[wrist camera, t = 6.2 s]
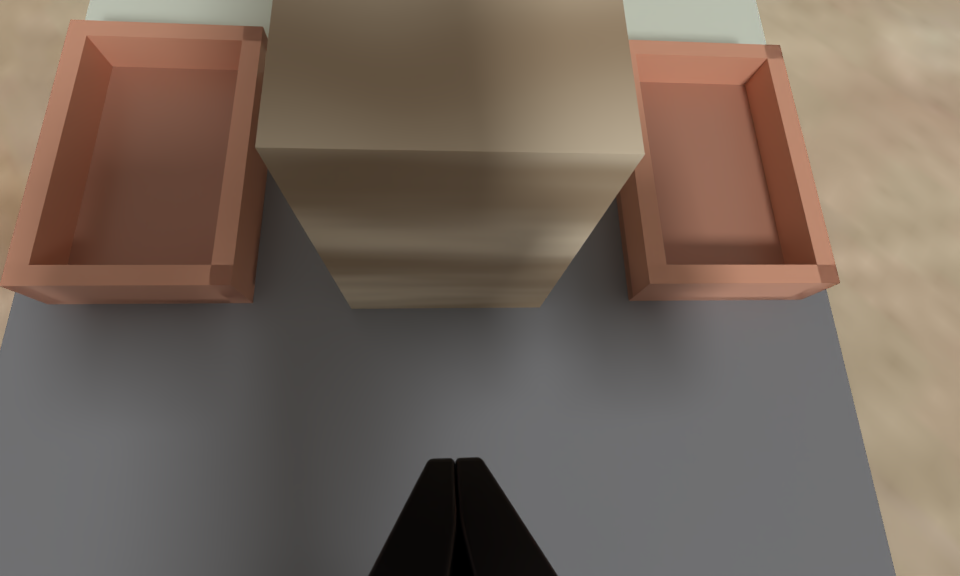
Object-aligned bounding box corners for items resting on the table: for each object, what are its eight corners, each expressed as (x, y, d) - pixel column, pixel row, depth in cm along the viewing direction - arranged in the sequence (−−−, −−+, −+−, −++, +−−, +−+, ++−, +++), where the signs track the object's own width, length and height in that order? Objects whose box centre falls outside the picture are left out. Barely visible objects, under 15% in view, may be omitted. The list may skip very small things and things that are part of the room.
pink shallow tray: (800, 299, 18) (839, 282, 16) (628, 301, 17) (649, 283, 15) (751, 79, 20) (779, 45, 19) (601, 75, 20) (617, 39, 18)
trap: (252, 303, 16) (231, 285, 14) (47, 304, 16) (-1, 286, 14) (278, 65, 19) (262, 26, 17) (104, 60, 18) (70, 19, 17)
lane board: (898, 652, 15) (988, 691, 13) (-74, 716, 13) (-195, 778, 10) (721, -98, 24) (753, -161, 22) (136, -133, 22) (98, -207, 20)
